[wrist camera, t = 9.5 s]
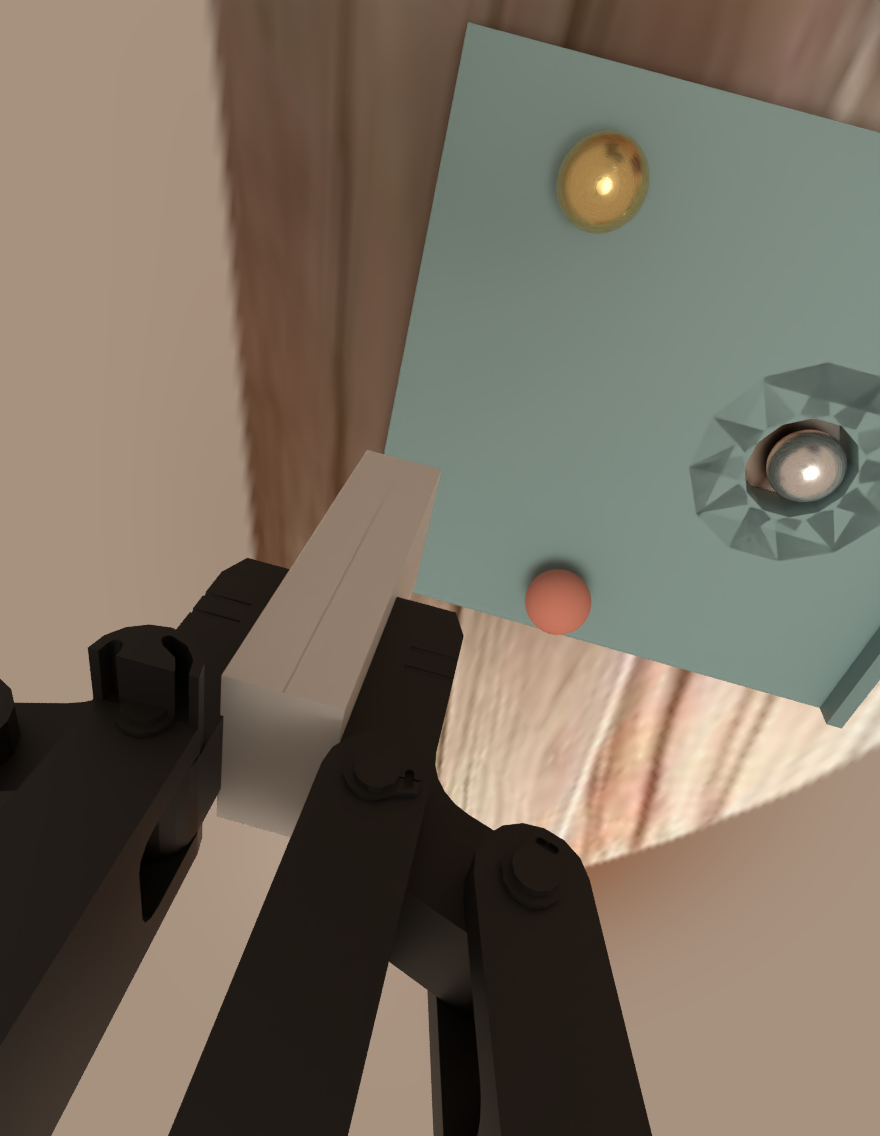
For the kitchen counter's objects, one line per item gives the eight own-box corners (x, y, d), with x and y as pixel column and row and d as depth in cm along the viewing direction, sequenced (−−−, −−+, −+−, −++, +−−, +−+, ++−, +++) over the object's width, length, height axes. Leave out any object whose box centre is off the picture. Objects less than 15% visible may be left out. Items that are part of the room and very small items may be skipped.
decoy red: (537, 549, 35) (534, 584, 32) (600, 567, 35) (601, 603, 32) (519, 599, 37) (514, 637, 34) (578, 616, 37) (579, 655, 34)
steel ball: (857, 460, 29) (866, 440, 31) (781, 428, 30) (796, 410, 32) (815, 524, 31) (827, 500, 33) (745, 491, 32) (762, 470, 34)
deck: (476, 29, 26) (463, 17, 23) (1157, 212, 26) (1235, 225, 23) (371, 553, 40) (354, 589, 37) (820, 680, 39) (841, 728, 36)
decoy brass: (573, 119, 25) (573, 118, 23) (659, 142, 25) (669, 144, 23) (546, 215, 27) (543, 225, 24) (627, 237, 27) (632, 250, 24)
